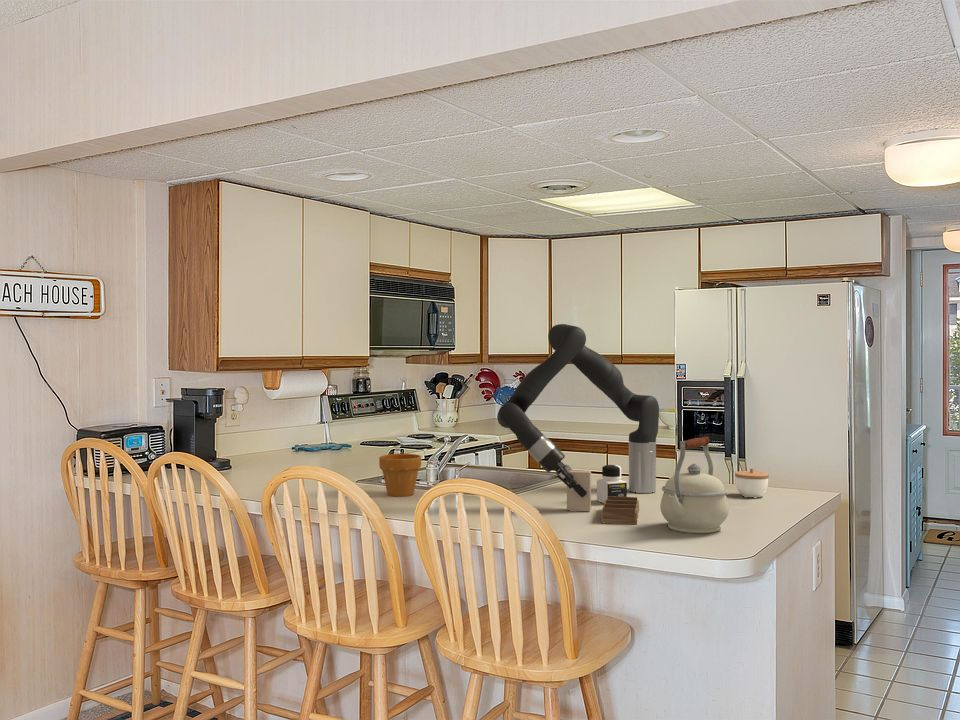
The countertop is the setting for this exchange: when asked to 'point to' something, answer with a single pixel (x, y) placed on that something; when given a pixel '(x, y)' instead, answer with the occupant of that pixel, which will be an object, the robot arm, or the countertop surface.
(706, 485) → the kettle
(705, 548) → the countertop surface
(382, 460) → the flower pot
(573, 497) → the tall beige block
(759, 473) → the lidded jar
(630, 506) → the rack
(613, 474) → the medicine bottle
